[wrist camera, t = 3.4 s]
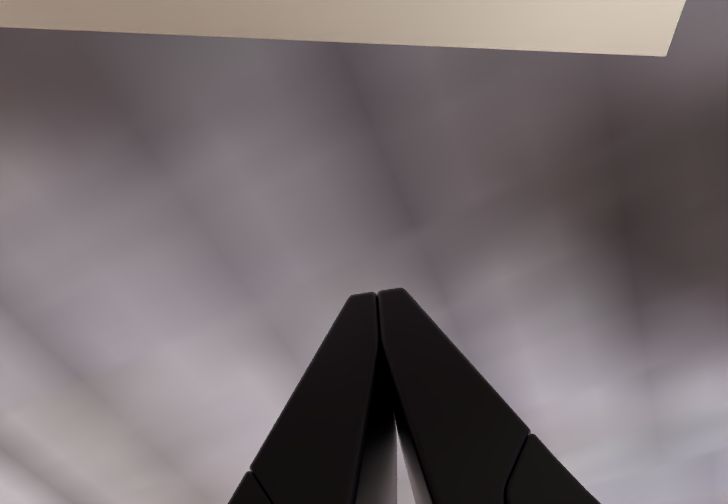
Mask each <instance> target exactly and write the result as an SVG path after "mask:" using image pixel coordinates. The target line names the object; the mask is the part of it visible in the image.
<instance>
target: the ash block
mask: <svg viewBox="0 0 728 504" xmlns="http://www.w3.org/2000/svg"><path fill="white" fill-rule="evenodd" d="M685 1H686V0H0V27H8V28H31V29H53V30H76V31H98V32H121V33H144V34H166V35H189V36H211V37H234V38H257V39H279V40H302V41H325V42H347V43H370V44H392V45H415V46H438V47H460V48H483V49H505V50H528V51H551V52H573V53H596V54H619V55H641V56H664V57H666V54H667V52H668V49H669V46H670V43H671V40H672V38H673V35H674V32H675V29H676V26H677V24H678V21H679V18H680V15H681V12H682V9H683V7H684V4H685Z"/></svg>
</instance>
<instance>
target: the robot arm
mask: <svg viewBox="0 0 728 504" xmlns="http://www.w3.org/2000/svg"><path fill="white" fill-rule="evenodd" d="M395 420H396V423H395ZM396 426H397V431H398V436H399V440H400V445H401V449H402V453H403V456H404V460H405V464H406V468H407V472H408V476H409V480H410V483H411V487H412V491H413V495H414V499H415V503H416V504H601V503H600V502H599V501H598V500H597V499H595V498H594V497H593V496H592V495H591V494H590V493H589V492H588V491H587V490H586V489H585V488H584V487H583V486H582V485H581V484H580V483H579V482H578V481H577V480H576V478H575V477H574V476H573V475H572V474H571V473H570V472H569V471H568V470H567V469H566V468H565V467H564V466H563V465H562V464H561V463H560V462H559V461H558V460H557V458H556V457H555V456H554V455H553V454H552V453H551V452H550V451H549V450H548V449H547V447H546V446H545V445H544V444H543V443H542V442H541V441H540V440H539V438H538V437H537V436H536V435H535V434H531V431H530V429H529V428H528V427H527V425H526V424H525V423H524V422H523V421H522V420H521V419H520V418H519V416H518V415H517V414H516V413H515V412H514V411H513V410H512V409H511V408H510V406H509V405H508V404H507V403H506V402H505V401H504V400H503V399H502V397H501V396H500V395H499V394H498V393H497V392H496V391H495V390H494V388H493V387H492V386H491V385H490V384H489V383H488V382H487V381H486V380H485V378H484V377H483V376H482V375H481V374H480V373H479V372H478V371H477V369H476V368H475V367H474V366H473V365H472V364H471V363H470V362H469V360H468V359H467V358H466V357H465V356H464V355H463V354H462V353H461V352H460V350H459V349H458V348H457V347H456V346H455V345H454V344H453V343H452V341H451V340H450V339H449V338H448V337H447V336H446V335H445V334H444V332H443V331H442V330H441V329H440V328H439V327H438V326H437V325H436V324H435V322H434V321H433V320H432V319H431V318H430V317H429V316H428V315H427V313H426V312H425V311H424V310H423V309H422V308H421V307H420V306H419V304H418V303H417V302H416V301H415V300H414V299H413V298H412V297H411V296H410V294H409V293H408V292H407V291H406V290H405V289H403V288H395V289H388V290H382V291H379V292H378V294H377V295H376V293H374V292H368V293H361V294H354V295H351V296H350V297H349V298H348V299H347V301H346V303H345V304H344V306H343V308H342V310H341V311H340V313H339V315H338V316H337V318H336V320H335V322H334V323H333V325H332V327H331V328H330V330H329V332H328V334H327V335H326V337H325V339H324V340H323V342H322V344H321V346H320V347H319V349H318V351H317V352H316V354H315V356H314V358H313V359H312V361H311V363H310V364H309V366H308V368H307V370H306V371H305V373H304V375H303V376H302V378H301V380H300V382H299V383H298V385H297V387H296V388H295V390H294V392H293V394H292V395H291V397H290V399H289V400H288V402H287V404H286V406H285V407H284V409H283V411H282V412H281V414H280V416H279V418H278V419H277V421H276V423H275V424H274V426H273V428H272V430H271V431H270V433H269V435H268V436H267V438H266V440H265V442H264V443H263V445H262V447H261V448H260V450H259V452H258V454H257V455H256V457H255V459H254V460H253V462H252V464H251V465H250V470H251V471H248V472H246V473H245V475H244V477H243V479H242V480H241V482H240V484H239V486H238V487H237V489H236V491H235V492H234V494H233V496H232V498H231V499H230V501H229V502H228V504H397V434H396Z"/></svg>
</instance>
